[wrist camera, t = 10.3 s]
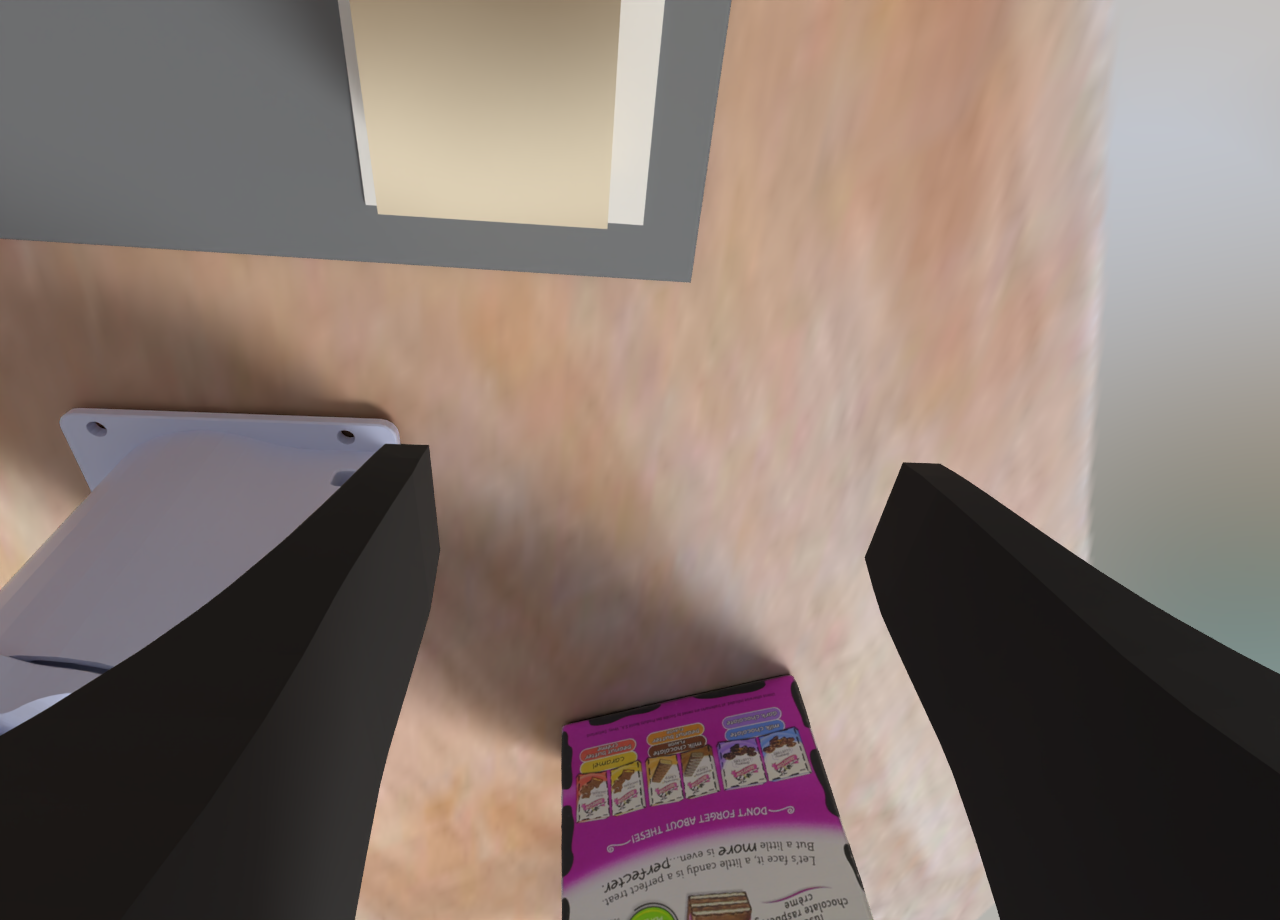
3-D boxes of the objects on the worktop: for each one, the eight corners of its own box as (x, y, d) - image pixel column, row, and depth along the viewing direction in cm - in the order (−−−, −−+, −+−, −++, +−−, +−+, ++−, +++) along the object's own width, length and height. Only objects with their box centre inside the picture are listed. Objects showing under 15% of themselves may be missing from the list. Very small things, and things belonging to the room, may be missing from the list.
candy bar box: (588, 774, 34) (599, 1284, 21) (559, 720, 31) (548, 1273, 18) (806, 729, 33) (961, 1229, 20) (796, 669, 30) (971, 1209, 17)
